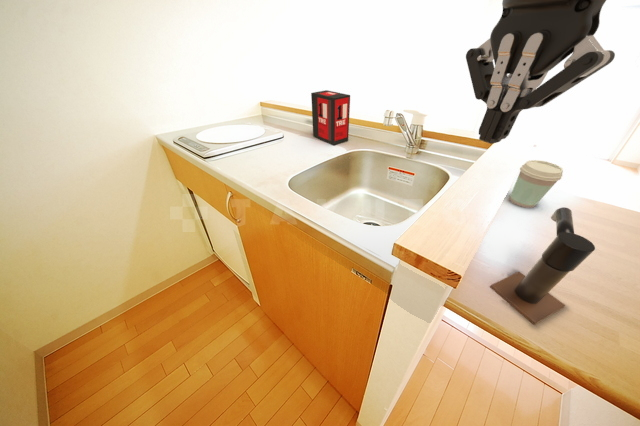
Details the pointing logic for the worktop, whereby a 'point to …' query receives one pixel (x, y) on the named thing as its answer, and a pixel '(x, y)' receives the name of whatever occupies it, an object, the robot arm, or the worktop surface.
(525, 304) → the base
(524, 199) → the coffee cup
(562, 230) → the spout
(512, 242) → the worktop surface
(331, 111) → the cleaning product box
